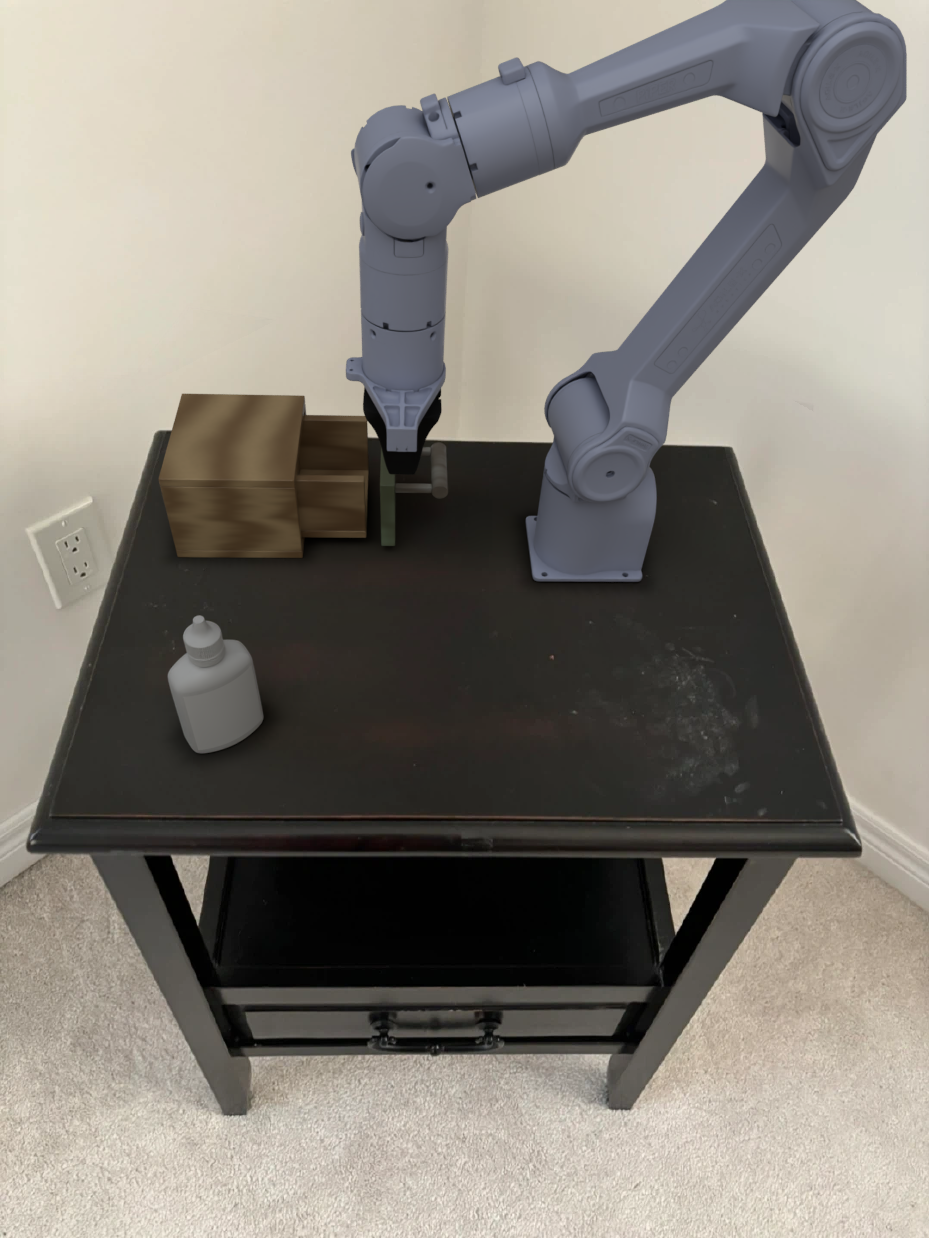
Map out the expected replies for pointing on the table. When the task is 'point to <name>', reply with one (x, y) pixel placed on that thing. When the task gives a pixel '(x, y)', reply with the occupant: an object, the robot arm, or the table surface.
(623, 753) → the table surface
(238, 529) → the cabinet
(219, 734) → the eye dropper bottle
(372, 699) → the table surface
